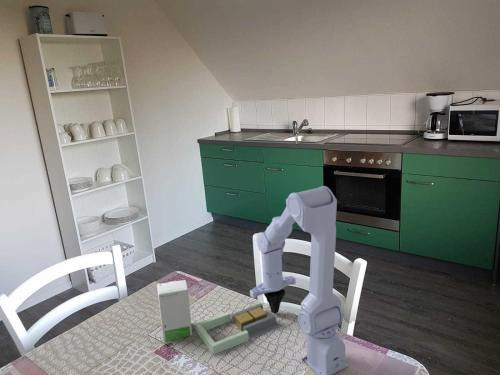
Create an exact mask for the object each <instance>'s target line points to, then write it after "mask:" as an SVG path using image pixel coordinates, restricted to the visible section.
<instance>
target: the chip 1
mask: <svg viewBox="0 0 500 375" xmlns="http://www.w3.org/2000/svg"><path fill="white" fill-rule="evenodd" d="M234 317H235V325H234V326H235V328H237V329H238V330H239V332H242V331H243V326H245V325H248V324H251V323H253V322H254V318H253V317H252V316H251V315H249V314H248V313H247V312H245V313H242V314H240V315H237V316H234Z"/></svg>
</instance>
